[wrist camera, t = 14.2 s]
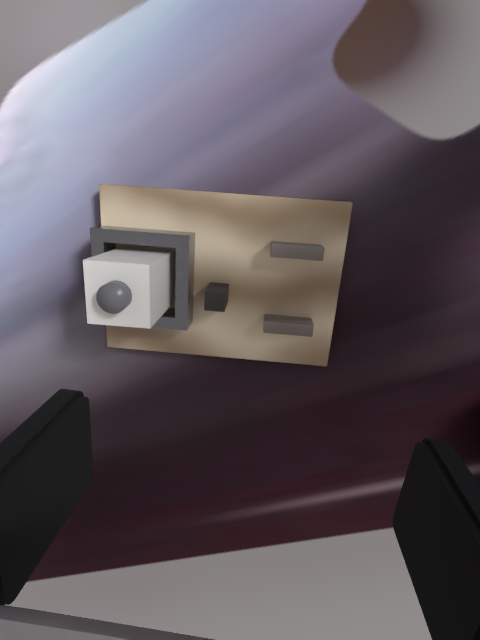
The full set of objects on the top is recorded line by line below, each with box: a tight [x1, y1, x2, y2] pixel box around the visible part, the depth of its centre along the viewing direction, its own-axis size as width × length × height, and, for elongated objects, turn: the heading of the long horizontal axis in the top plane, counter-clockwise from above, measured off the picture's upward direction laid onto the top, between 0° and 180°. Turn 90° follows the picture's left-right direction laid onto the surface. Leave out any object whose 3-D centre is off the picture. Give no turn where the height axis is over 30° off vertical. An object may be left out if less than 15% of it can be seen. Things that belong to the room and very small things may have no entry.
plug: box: [83, 247, 174, 329], centre depth 27 cm, size 4×4×8 cm
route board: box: [99, 184, 353, 366], centre depth 30 cm, size 14×20×4 cm
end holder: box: [90, 226, 195, 331], centre depth 30 cm, size 8×8×2 cm
